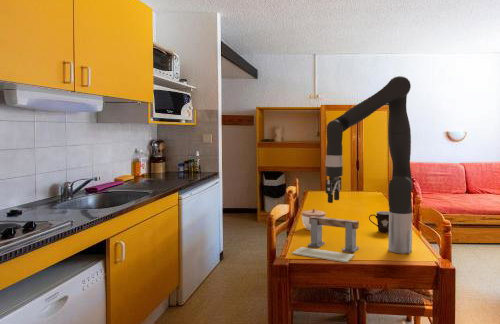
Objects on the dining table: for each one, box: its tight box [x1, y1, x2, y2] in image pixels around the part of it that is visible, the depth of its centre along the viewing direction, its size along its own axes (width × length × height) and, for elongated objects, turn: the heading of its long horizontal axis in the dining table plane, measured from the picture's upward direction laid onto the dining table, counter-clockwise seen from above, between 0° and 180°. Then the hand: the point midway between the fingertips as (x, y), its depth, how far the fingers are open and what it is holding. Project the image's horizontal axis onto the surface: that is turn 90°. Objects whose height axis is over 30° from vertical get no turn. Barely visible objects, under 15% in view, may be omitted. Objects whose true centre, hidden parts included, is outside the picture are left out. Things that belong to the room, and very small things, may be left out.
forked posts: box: [307, 219, 360, 254], centre depth 187 cm, size 21×8×12 cm, turn 60°
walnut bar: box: [309, 216, 360, 230], centre depth 187 cm, size 22×3×3 cm, turn 60°
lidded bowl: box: [301, 208, 327, 232], centre depth 223 cm, size 13×13×11 cm
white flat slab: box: [291, 246, 355, 263], centre depth 176 cm, size 24×10×1 cm, turn 60°
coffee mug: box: [368, 210, 389, 234], centre depth 217 cm, size 12×9×10 cm
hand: (333, 201), depth 186 cm, fingers open, 8 cm apart
